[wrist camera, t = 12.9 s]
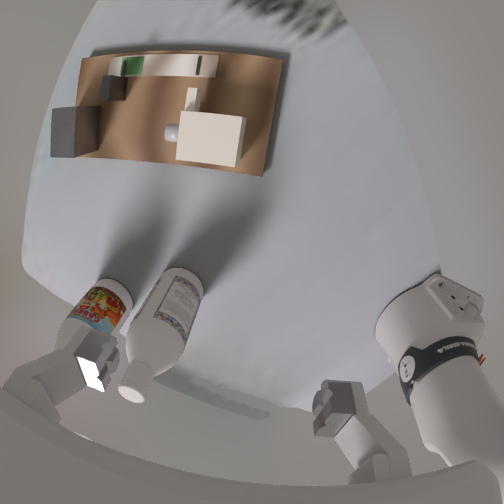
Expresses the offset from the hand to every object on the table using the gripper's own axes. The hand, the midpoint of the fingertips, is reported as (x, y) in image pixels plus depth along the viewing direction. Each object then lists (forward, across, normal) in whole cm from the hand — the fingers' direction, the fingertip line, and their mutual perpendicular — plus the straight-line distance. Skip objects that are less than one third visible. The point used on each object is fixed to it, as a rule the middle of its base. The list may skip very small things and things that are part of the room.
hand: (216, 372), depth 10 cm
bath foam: (+27, +9, +16) cm, 33 cm away
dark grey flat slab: (+25, +19, -12) cm, 34 cm away
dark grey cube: (+26, +23, -6) cm, 35 cm away
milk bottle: (+27, +20, +21) cm, 40 cm away
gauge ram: (+26, +7, -7) cm, 27 cm away
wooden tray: (+27, +13, -9) cm, 31 cm away
